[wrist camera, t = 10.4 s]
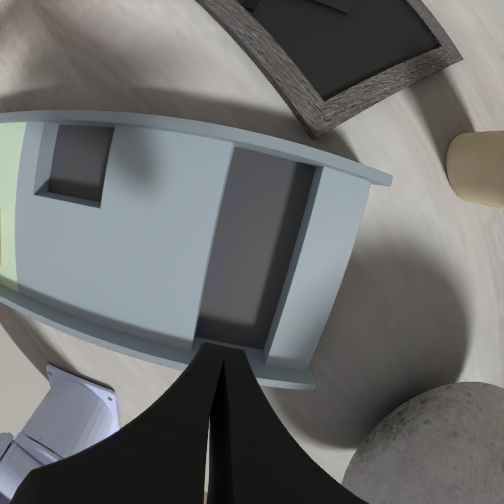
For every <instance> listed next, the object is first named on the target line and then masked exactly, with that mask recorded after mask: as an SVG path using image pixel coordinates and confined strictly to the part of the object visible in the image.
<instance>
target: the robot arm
mask: <svg viewBox="0 0 504 504" xmlns="http://www.w3.org/2000/svg"><path fill="white" fill-rule="evenodd" d="M46 371H47V375H48V378H49V382H50V386H51V390H50V391H49V392H48V393H47V395H46V397H45V398H44V399H43V400H42V402H41V403H40V405H39V406H38V407H37V409H36V410H35V412H34V413H33V415H32V416H31V417H30V419H29V421H28V422H27V424H26V425H25V426H24V428H23V429H22V431H21V432H20V433H19V434H18V435H17V437H16V438H15V440H13V437H14V436H13V435H12V434H11V433H10V432H9V433H1V434H0V504H204V503H203V502H204V484H205V467H206V453H207V441H208V430H209V419H210V434H209V485H208V494H207V504H369V503H368V502H366V501H364V500H362V499H361V498H359V497H358V496H356V495H355V494H353V493H352V492H350V491H349V490H348V489H346V488H345V487H344V486H342V485H341V484H339V483H338V482H337V481H336V480H335V479H333V478H332V477H331V476H330V475H329V474H328V473H327V472H325V471H324V470H323V469H322V468H321V467H320V466H319V465H318V464H317V463H316V462H314V461H313V460H312V459H311V458H310V456H309V455H308V454H307V453H306V452H305V451H304V450H303V449H302V448H301V447H300V446H299V444H298V443H297V442H296V441H295V439H294V438H293V437H292V436H291V435H290V433H289V432H288V431H287V429H286V428H285V427H284V425H283V424H282V422H281V421H280V419H279V418H278V416H277V415H276V413H275V412H274V410H273V409H272V407H271V405H270V404H269V402H268V400H267V398H266V397H265V395H264V393H263V391H262V389H261V387H260V385H259V383H258V381H257V379H256V377H255V375H254V373H253V371H252V368H251V366H250V363H249V361H248V358H247V355H246V353H245V351H244V350H242V349H237V348H231V347H226V346H221V345H216V344H212V343H207V342H204V343H202V344H201V345H200V348H199V350H198V352H197V353H196V355H195V357H194V358H193V360H192V361H191V362H190V364H189V365H188V367H187V368H186V369H185V370H184V371H183V373H182V374H181V375H180V376H179V378H178V379H177V380H176V381H175V382H174V383H173V384H172V385H171V386H170V387H169V388H168V389H167V391H166V392H165V393H164V394H163V395H162V396H161V397H160V398H159V399H158V400H156V401H155V402H154V403H153V404H152V405H151V406H150V407H149V408H147V409H146V410H145V411H144V412H143V413H141V414H140V415H139V416H138V417H136V418H135V419H134V420H132V421H131V422H129V423H128V424H127V425H125V426H124V427H122V428H121V429H120V426H119V419H118V412H117V404H116V395H115V393H114V392H113V391H112V390H110V389H107V388H104V387H102V386H99V385H96V384H94V383H91V382H89V381H86V380H84V379H81V378H79V377H77V376H74V375H72V374H70V373H67V372H65V371H63V370H61V369H59V368H56V367H54V366H52V365H50V364H47V366H46ZM1 496H2V497H1ZM5 499H6V500H5ZM9 502H10V503H9Z"/></svg>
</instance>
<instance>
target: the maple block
mask: <svg viewBox="0 0 504 504" xmlns="http://www.w3.org/2000/svg"><path fill="white" fill-rule="evenodd" d="M0 224H1V210H0ZM1 265H2V256H1V227H0V266H1Z"/></svg>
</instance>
